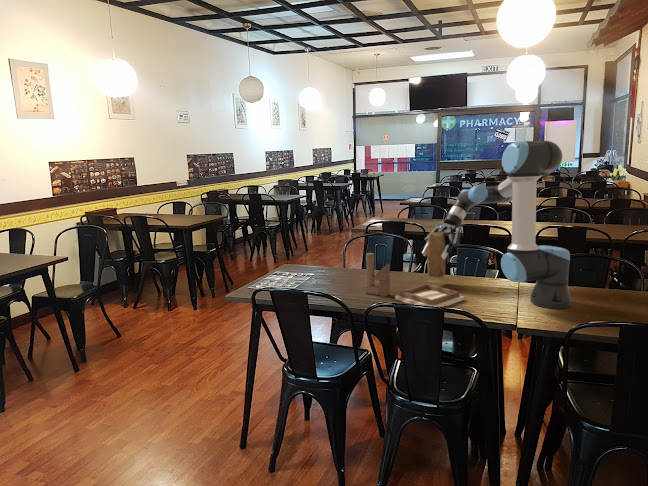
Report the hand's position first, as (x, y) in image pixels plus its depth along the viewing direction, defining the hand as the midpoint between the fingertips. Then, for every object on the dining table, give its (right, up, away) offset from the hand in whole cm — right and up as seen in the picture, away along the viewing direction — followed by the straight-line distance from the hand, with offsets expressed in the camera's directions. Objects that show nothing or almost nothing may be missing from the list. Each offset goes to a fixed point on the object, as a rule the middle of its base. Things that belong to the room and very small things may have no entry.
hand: (432, 256), depth 223 cm
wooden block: (-26, -17, -6) cm, 32 cm away
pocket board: (-5, -18, -16) cm, 25 cm away
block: (+3, -9, +4) cm, 10 cm away
